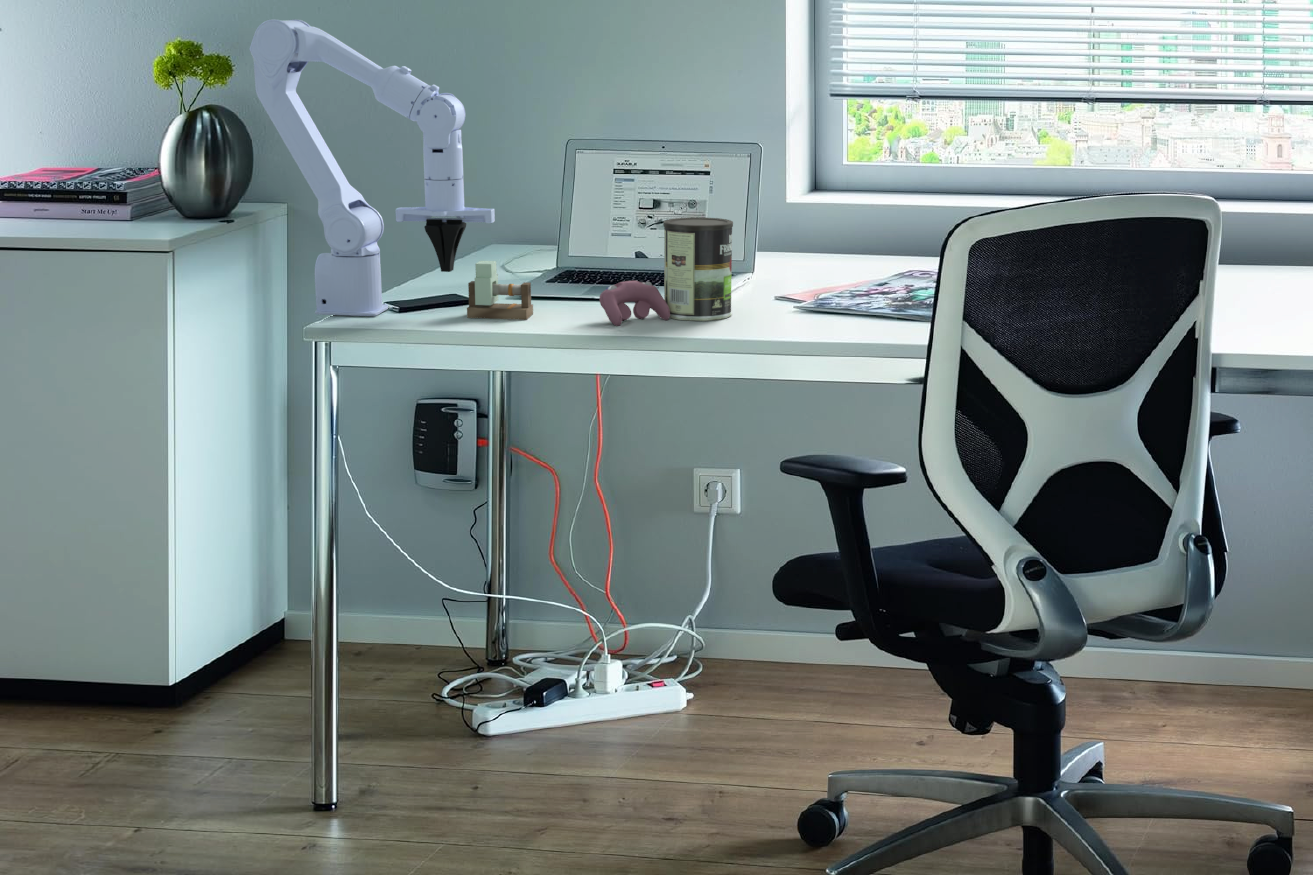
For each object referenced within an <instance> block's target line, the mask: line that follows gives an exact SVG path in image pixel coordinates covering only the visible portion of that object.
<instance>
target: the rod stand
mask: <svg viewBox="0 0 1313 875" xmlns="http://www.w3.org/2000/svg"><path fill="white" fill-rule="evenodd" d="M467 285H468V307H466V318H467V319H487V320H489V319H491V320H492V319H493V320H521V321H522V320H523V321H524V320H526V321H527V320H528V319H529V318H530V317H532V316H533V315H534V304H533V303H532V283H531V282H527V281H526V282H523V283H522V284H514V283H508V284H507V283H506V284H502V283H498V284H492V291H493V295H498V296H509V297H514V296H520V297H521V298H520V299H521V303H497V302H495V303H494V304H492V305H475V280H471V281H470V282H468V284H467Z"/></svg>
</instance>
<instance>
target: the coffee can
mask: <svg viewBox="0 0 1313 875" xmlns="http://www.w3.org/2000/svg"><path fill="white" fill-rule="evenodd" d="M662 224H663V225H662V226H663V227H664V228H663V229H664V237H663V238H664V240H663V241H664V243H663V245H664V248H663V250H664V254H663V258H664V266H663V267H664V273H663V275H664V277H663V279H664V284H663V285H664V287H663V289H664V291H663V292H664V297H663V299H664V300H665V302H666V303H667V305H668V307H669V309H670V317H669V319H672V320H677V321H686V322H687V321H688V322H689V321H691V322H706V321H707V322H709V321H710V322H711V321H719V320H725V319H729V318H730V317H732V314H733V313H732V269H733V268H732V264H733V263H732V261H733V260H732V259H733V258H732V257H733V255H732V254H733V253H732V252H733V227H734V221H733V220H731V219H726V218H721V217H720V218H718V217H702V216H701V217H699V216H698V217H695V216H694V217H679V218H677V217H676V218H670V219H666V220H663V222H662Z"/></svg>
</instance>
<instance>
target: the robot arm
mask: <svg viewBox="0 0 1313 875" xmlns="http://www.w3.org/2000/svg"><path fill="white" fill-rule="evenodd" d="M248 49H249V52H250V54H251V57H252V60H253V70H254V71H253V72H254V85H255V86H254V87H255V93H256V96H257V98H258V100H259V101H260V103H261V105H262V107H263V109H264V110H265V112H266V114H267V115H268V117H269V119H270V120H271V122H272V123H273V126H274V127H275V129H276V132H277V133H278V134H279V136H280V138H281V139H282V141H283V143H284V145H285V146H286V148H287V150H288V152H289V153H290V155H291V157H292V159H293V160H294V162H295V163H296V165H297V167H298V168H299V170H300V172H301V174H302V176H303V177H304V179H305V181H306V182H307V184H308V186H309V187H310V189H311V190H312V193H313V194H314V196H315V198H316V199H317V204H318V205H317V206H318V208H317V215H318V217H319V219H320V221H321V223H322V226H323V231H324V232H323V233H324V238H325V241H326V244H327V245H328V246H329V247H330V252H321V253H319V254H318V255H317V258H316V260H315V265H314V285H315V286H314V287H315V291H314V292H315V305H316V306H315V307H316V310H315V311H314V314H315V315H323V316H324V315H325V316H327V315H328V316H331V315H332V316H355V317H357V316H359V317H364V316H365V317H376V316H378V315H380V314H381V313H383V312H385V311H387V310H388V305H387V304H388V303H383V295H382V294H383V293H382V292H383V290H382V273H381V272H382V269H381V267H382V266H381V249H380V247H379V245H378V242H379V241H380V239H381V238H382V237H383V234H384V230H385V224H384V220H383V217H382V215H381V213H379V211H378V210H376V209H375V208H374V207H373V206H371V205H370V204H369V203H368V202H367V201H366V199H365V198H364V196H363V194H362V193H360V192H359V191H358V190H357V189H356V188H355V187H353V186H352V185H351V184H350V183H349V181H348V179H347V177H346V176H345V174H344V173H343V170H342V169H341V166H340V165H339V163H338V162H337V160H336V158H335V156H334V154H333V153H332V151H331V150H330V148H329V146H328V145H327V143H326V141H325V139H324V138H323V136H322V134H321V133H320V131H319V129H318V127H317V125H316V123H315V122H314V121H313V119H312V117H311V115H310V113H309V112H308V110H307V109H306V106H305V105H304V103H303V101H302V100H301V98H300V96H299V95H298V93H297V86H298V84H299V80H300V78H301V74H302V71H303V70H304V69H305V68H306V66H307V65H308V63H309V62H313V63H314V62H316V63H317V62H318V63H319V62H322V63H325V64H327V65H329V66H330V67H333V68H334V69H335V70H338V71H339V72H341V73H343V74H346V75H348V76H349V77H352V78H353V79H354V80H357V81H359V82H360V83H362V84H364V85H366V86H368V87H371V90H372V92H373V94H374V99H375V100H376V101H377V102H379V103H380V104H382V105H383V106H385V107H388V109H391V110H393V111H394V112H396V113H398V114H399V115H401V116H402V117H405V119H408V120H409V121H412V122H416V124H417V126H418V128H419V129H420V131H421V132H422V143H423V147H422V153H423V154H422V155H423V176H424V177H423V178H424V181H423V183H424V206H414V207H413V206H411V207H409V206H408V207H404V206H402V207H401V206H400V207H397V208H395V222H398V223H403V222H426V223H425V225H424V231H425V233H426V235H427V237H428V238H429V240H430V242H431V244H432V246H433V248H434V251H435V253H436V258H437V260H438V264H439V267H440V268H439V269H440V272H442V273H443V272H444V273H445V272H446V273H449V272H452V271H454V268H455V267H454V266H455V261H456V255H457V251H458V247H459V246H460V245H459V244H460V242H461V239H462V237H463V235H464V232H465V230H466V227H467V223H484V224H493V223H494V222H495V221H496V219H495V218H496V216H495V215H496V213H495V208H485V207H483V208H481V207H470V206H469V207H468V206H465V187H464V186H465V185H464V158H463V157H464V156H463V155H464V154H463V145H462V143H463V142H462V127H463V125H464V124H465V120H466V115H467V114H466V109H465V106H464V104H463V103H462V102H461V100H460V99H458V98H457V97H456V96H455V95H454V94H453V93H450V92H442V93H440V92H439V91H440V86H438V85H436V84H432V85H429V84H428V83H426V82H424V81H422V80H421V79H419V77H418V78H417V77H416V76H414V75H412V74H411V73H412V69H411V68H409V67H407V66H405V65H402V66H400V67H399V66H397V65H390V66H387V67H385V68H383V67H382V66H380V65H379V64H378V63H375V62H374V61H372V60H370V59H369V58H367V57H366V56H365V55H363V54H361V53H360V52H358V51H357V50H355V49H354V48H352V47H351V46H349V45H347V44H346V43H344V42H342V41H341V40H339V39H337V38H336V37H335V36H333V35H331V34H330V33H328V32H326V31H324V30H323V29H321V28H319V27H317V26H316V27H315V26H311V25H310V24H309V23H308V22H306V21H304V20H302V19H295V18H294V19H288V20H283V19H282V20H280V19H277V18H276V19H275V18H272V19H267V20H265V21H263V22H262V23H260V24H259V25H258V26H257V28H256V29H255V31H254V34H253V37H252V40H251V43H250V46H249V48H248ZM454 217H455V218H454Z"/></svg>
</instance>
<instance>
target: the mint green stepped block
mask: <svg viewBox="0 0 1313 875" xmlns="http://www.w3.org/2000/svg"><path fill="white" fill-rule="evenodd" d="M474 267H475V276H474V281H475V305H492V304H494V303H497V302H498V301H499V295H493V291H492V284H499V274H498V273H497V261H496V260H479V261H478V262H476V263H475V266H474Z"/></svg>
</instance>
